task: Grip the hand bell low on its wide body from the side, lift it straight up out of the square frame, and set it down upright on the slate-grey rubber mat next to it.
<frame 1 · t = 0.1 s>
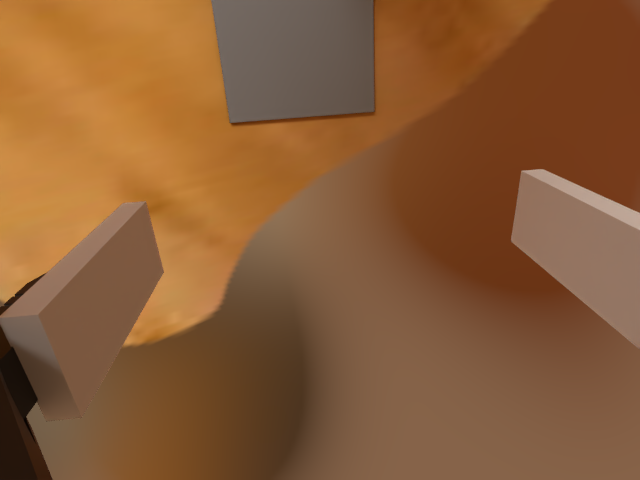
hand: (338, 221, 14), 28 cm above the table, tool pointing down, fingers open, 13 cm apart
rubber mat: (296, 36, 37), on the table
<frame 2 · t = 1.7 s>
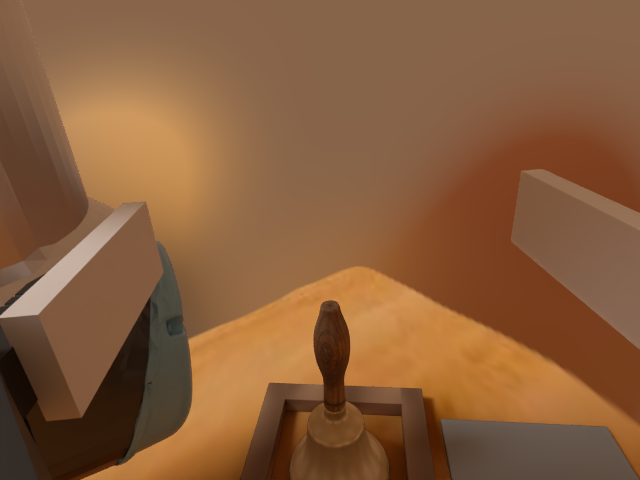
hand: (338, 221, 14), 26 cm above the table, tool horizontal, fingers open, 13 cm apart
square frame: (338, 466, 34), on the table
hand bell: (339, 468, 34), resting in square frame
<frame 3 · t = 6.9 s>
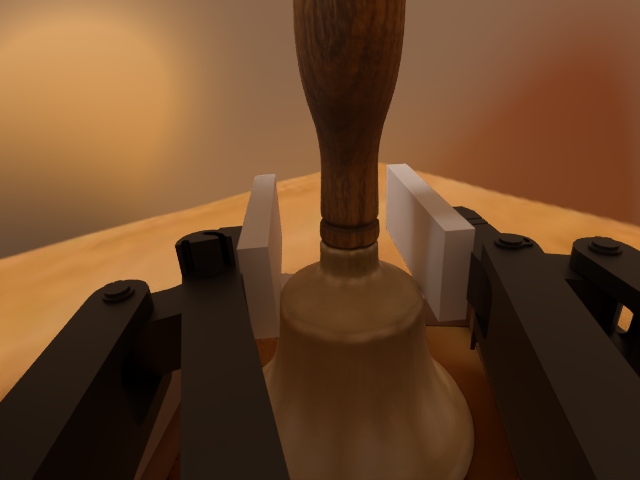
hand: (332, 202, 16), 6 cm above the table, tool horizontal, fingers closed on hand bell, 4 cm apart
square frame: (344, 417, 15), on the table
hand bell: (352, 417, 15), resting in square frame, touching gripper
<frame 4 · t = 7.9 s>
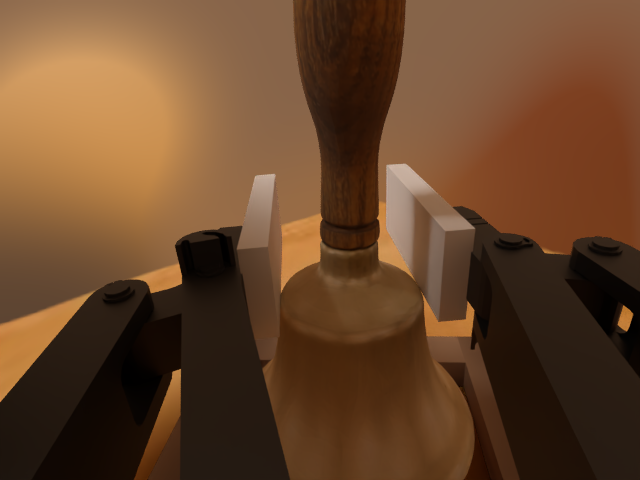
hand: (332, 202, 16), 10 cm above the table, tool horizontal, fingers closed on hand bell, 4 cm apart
hand bell: (352, 418, 15), point 3 cm above the table, touching gripper
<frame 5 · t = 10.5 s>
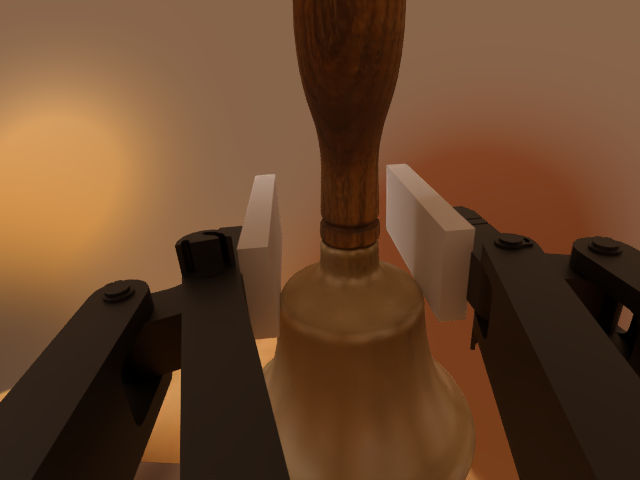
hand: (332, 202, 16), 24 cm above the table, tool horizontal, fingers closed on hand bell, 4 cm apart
hand bell: (353, 418, 15), point 17 cm above the table, touching gripper
when the fingers open (7 cm above the table, at t = 13.9 s): hand bell stays where it is, resting on rubber mat.
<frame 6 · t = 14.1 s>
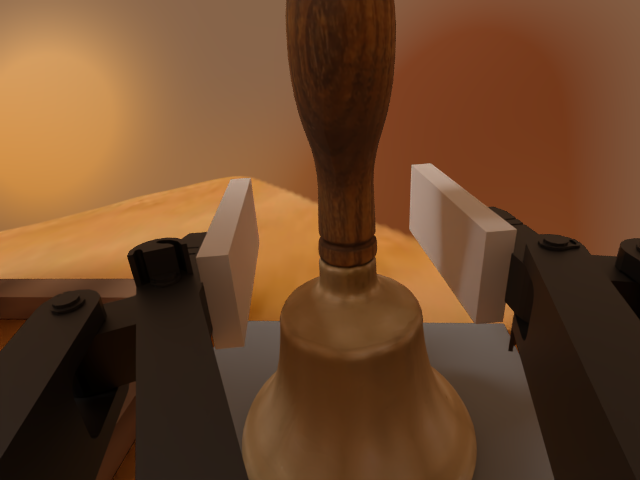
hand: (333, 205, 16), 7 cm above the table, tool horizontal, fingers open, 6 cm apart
square frame: (1, 392, 18), on the table
hand bell: (356, 430, 15), resting on rubber mat
rubber mat: (358, 449, 15), on the table
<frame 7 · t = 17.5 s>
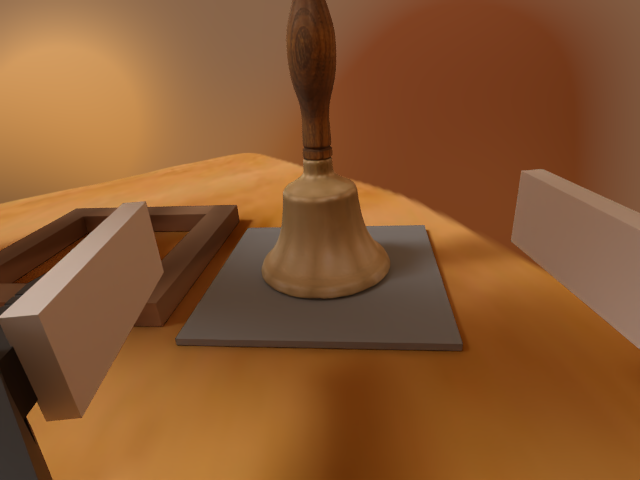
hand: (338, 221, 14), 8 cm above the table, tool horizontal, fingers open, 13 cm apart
square frame: (111, 262, 30), on the table
hand bell: (325, 268, 27), resting on rubber mat
rubber mat: (326, 275, 26), on the table
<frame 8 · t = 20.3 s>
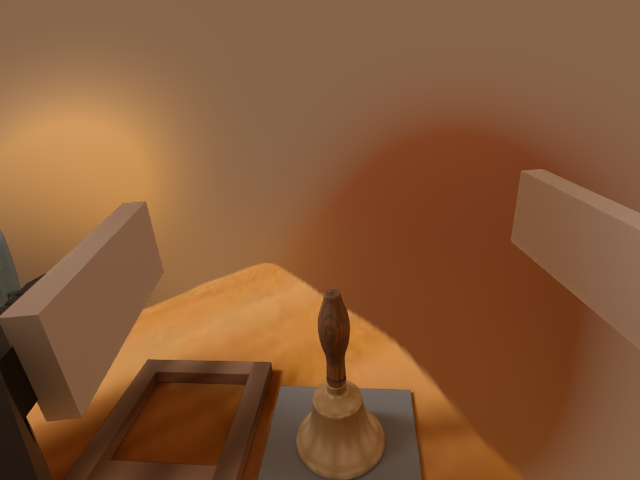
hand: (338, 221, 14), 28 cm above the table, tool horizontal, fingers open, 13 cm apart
square frame: (185, 423, 42), on the table
hand bell: (340, 440, 38), resting on rubber mat
rubber mat: (340, 447, 38), on the table
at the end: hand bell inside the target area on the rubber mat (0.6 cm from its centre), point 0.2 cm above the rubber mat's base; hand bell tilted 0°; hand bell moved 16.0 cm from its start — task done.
